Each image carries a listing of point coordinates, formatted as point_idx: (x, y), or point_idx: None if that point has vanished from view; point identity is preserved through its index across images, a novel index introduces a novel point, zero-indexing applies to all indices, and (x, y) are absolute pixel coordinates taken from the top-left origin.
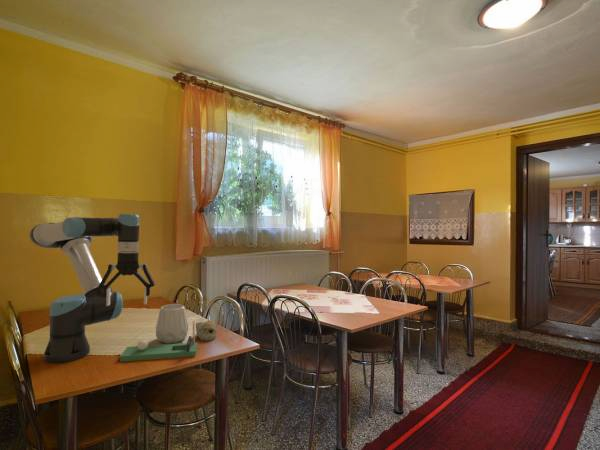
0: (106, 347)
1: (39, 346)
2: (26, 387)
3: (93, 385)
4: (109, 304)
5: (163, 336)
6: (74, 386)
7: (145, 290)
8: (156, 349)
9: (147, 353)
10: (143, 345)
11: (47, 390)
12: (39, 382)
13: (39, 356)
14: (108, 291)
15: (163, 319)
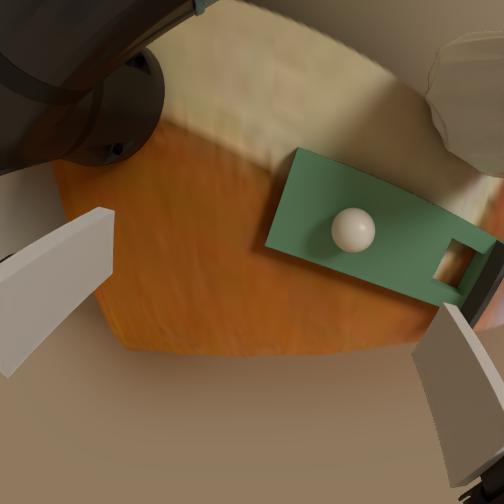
0: (221, 59)
1: None
2: None
3: (204, 354)
4: (111, 240)
5: (450, 151)
6: (165, 337)
7: (456, 468)
8: (395, 243)
9: (358, 268)
10: (353, 252)
11: (120, 324)
12: None
13: None
14: (20, 359)
15: (494, 138)
